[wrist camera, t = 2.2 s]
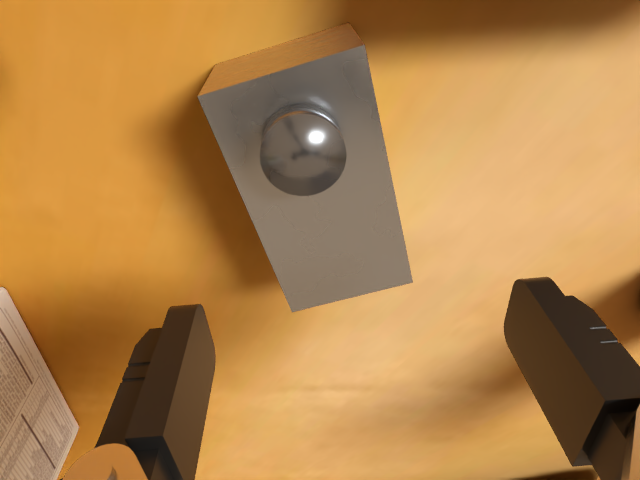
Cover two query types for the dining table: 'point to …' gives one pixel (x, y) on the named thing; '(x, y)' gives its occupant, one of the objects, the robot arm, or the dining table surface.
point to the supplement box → (29, 405)
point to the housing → (311, 165)
